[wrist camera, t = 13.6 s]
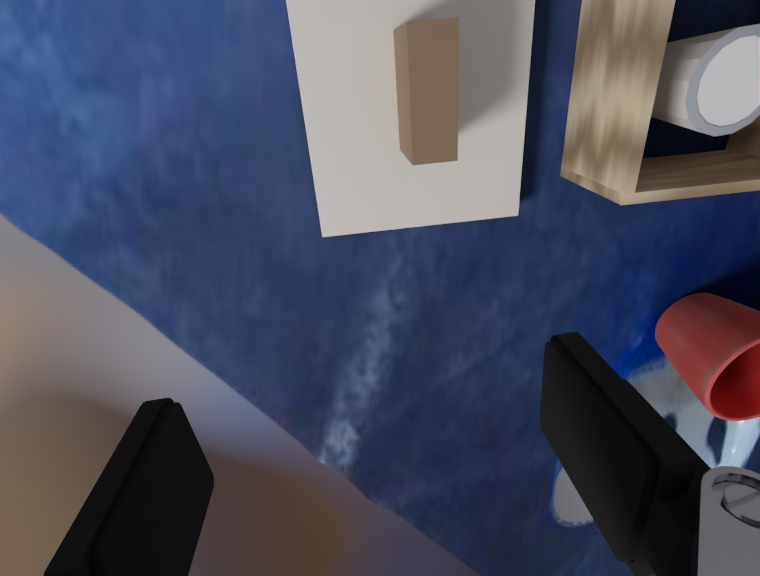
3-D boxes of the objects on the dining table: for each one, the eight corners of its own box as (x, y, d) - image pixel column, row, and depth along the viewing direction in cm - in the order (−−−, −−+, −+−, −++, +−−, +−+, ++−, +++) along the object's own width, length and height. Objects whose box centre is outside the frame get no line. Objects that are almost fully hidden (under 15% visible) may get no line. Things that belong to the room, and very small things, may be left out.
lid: (277, -74, 28) (257, -125, 20) (529, -93, 28) (596, -147, 21) (322, 228, 37) (320, 266, 30) (508, 208, 38) (549, 240, 31)
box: (597, -126, 28) (702, -202, 20) (822, -141, 29) (1009, -220, 21) (560, 176, 37) (621, 205, 29) (730, 158, 38) (834, 181, 30)
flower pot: (716, 356, 50) (796, 417, 41) (628, 364, 49) (691, 427, 40) (751, 276, 45) (851, 326, 36) (654, 283, 44) (733, 335, 35)
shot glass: (607, 102, 35) (666, 110, 29) (663, 14, 32) (742, 1, 26) (665, 138, 37) (732, 153, 31) (723, 58, 34) (809, 55, 28)
